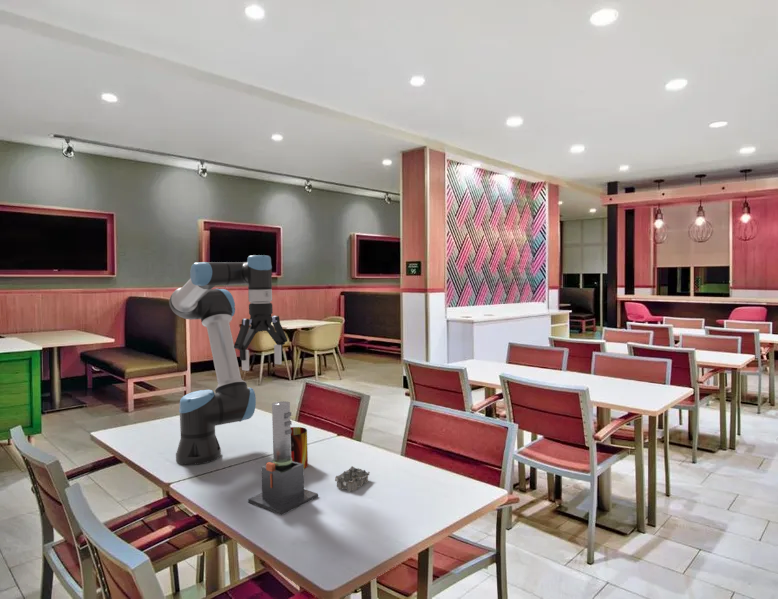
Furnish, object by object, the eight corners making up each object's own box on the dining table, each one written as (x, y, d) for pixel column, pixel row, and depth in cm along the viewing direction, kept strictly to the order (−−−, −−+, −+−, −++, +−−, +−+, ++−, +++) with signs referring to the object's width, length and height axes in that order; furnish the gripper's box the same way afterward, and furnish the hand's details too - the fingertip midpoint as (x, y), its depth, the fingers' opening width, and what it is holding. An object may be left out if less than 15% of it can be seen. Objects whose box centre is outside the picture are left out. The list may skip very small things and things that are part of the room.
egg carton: (352, 493, 156) (352, 480, 155) (332, 488, 159) (332, 475, 159) (372, 481, 165) (371, 468, 164) (352, 476, 169) (352, 464, 168)
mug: (292, 477, 168) (291, 440, 168) (274, 465, 179) (273, 430, 179) (318, 470, 174) (317, 434, 173) (300, 458, 185) (299, 425, 184)
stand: (248, 502, 150) (247, 461, 149) (285, 486, 161) (284, 447, 161) (281, 515, 142) (280, 471, 141) (318, 496, 153) (317, 456, 152)
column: (269, 473, 150) (267, 404, 150) (283, 467, 155) (281, 400, 154) (283, 477, 147) (281, 407, 146) (297, 471, 151) (295, 402, 150)
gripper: (236, 305, 159) (238, 374, 160) (296, 300, 179) (298, 362, 180) (221, 304, 164) (223, 371, 165) (281, 300, 184) (283, 360, 185)
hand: (262, 367), depth 172 cm, fingers open, 13 cm apart
